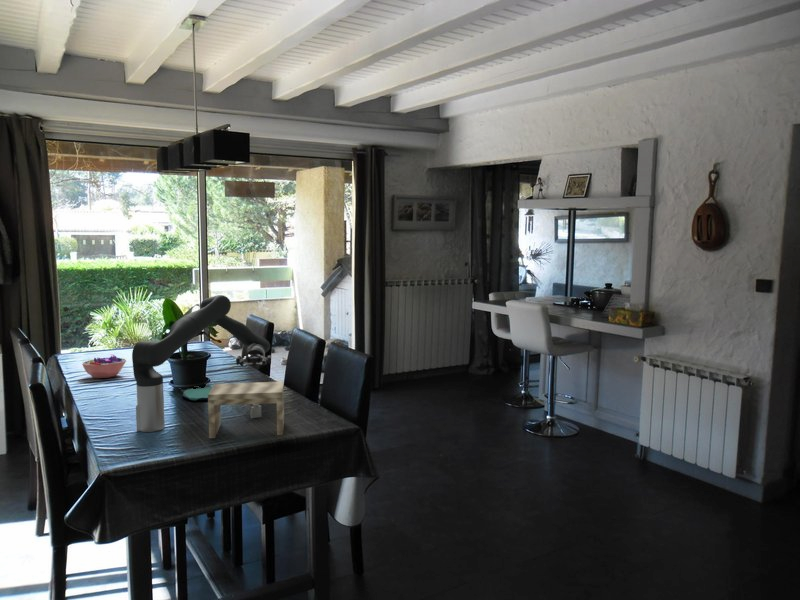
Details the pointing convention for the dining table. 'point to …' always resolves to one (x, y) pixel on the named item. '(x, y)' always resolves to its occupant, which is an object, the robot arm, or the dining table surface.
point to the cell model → (104, 366)
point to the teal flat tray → (197, 393)
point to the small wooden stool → (244, 400)
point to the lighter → (254, 410)
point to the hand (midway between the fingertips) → (252, 363)
